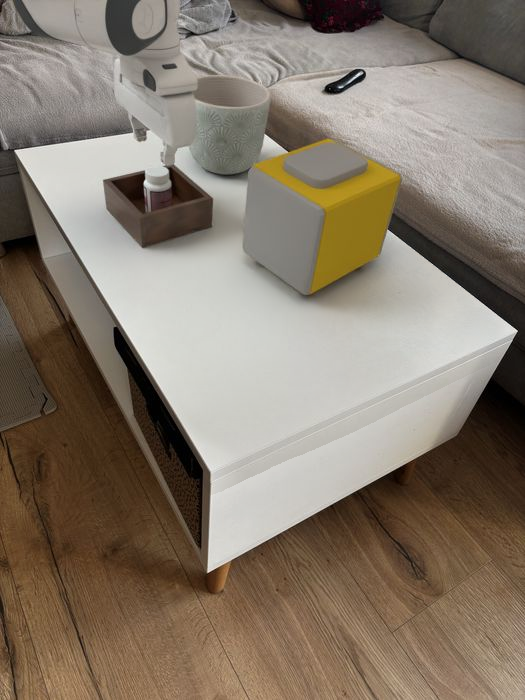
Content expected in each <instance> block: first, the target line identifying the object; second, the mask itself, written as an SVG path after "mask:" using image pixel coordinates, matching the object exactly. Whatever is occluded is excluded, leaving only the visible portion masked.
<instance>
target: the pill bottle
mask: <svg viewBox="0 0 525 700" xmlns="http://www.w3.org/2000/svg"><path fill="white" fill-rule="evenodd" d="M163 166H164V165H150V166H148V167H146V168H145V169H144V170H145V178H146V180H145V181H144V195H145V209H146V213H148V212H151V211H155V210H159V209H162V208H166V207H170V206H172V186H171V181H170V180H169V170H168V169H167V168H166V167H163Z"/></svg>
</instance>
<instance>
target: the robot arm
mask: <svg viewBox="0 0 525 700" xmlns="http://www.w3.org/2000/svg"><path fill="white" fill-rule="evenodd" d="M11 1H12V3H13V5H14V7H15V9H16V12H17V13H18V15H19V17H20V19H21V20H22V22H23V23H24V25H25V26H26V28H28V30H29V31H30V32H32V34H34V35H36V36H37V37H40V38H43V39H47V40H52V41H59V42H67V43H70V44H74V45H76V46H77V45H78V46H81V47H85V48H88V49H92V50H94V51H95V50H97V51H101V52H104V53H108V54H112V55H116V56H117V58H116V59H114V61H113V62H114V63H113V94H114V98H115V101H116V102H117V104H118V105H119V106H120V107H122V108H123V109H124V110H125V111H127V114H128V115H127V116H128V120H129V122H130V125H131V128H132V136H133V139H135V140H136V141H137V142H139V143H141V142H146V141H147V139H148V137H147V133H148V132H147V129H148V130H150V131H151V132H152V133H153V134H154V135H155V136H157V137H158V138H159V139H160V140H162V146H164V148H163V151H160V153H159V154H160V162H161V163H162V164H163V165H164V166H165V165H166V166H170V165H173V164H174V165H175V162H176V153H177V151H178V150H179V149H181V148H185V147H188V146H190V145H191V144H192V143H193V141H194V139H195V129H196V102H195V98H194V95H193V93H192V92H191V91H195V90H197V87H198V79H197V77H198V76H197V74H196V72H195V71H194V70H193V69H192V68H191V66H190V64H189V63H188V62H187V60H186V57H185V55H184V53H183V52H182V51H181V37H180V32H179V27H178V19H179V15H180V10H181V0H11ZM145 128H147V129H145Z"/></svg>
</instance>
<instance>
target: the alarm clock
mask: <svg viewBox="0 0 525 700" xmlns="http://www.w3.org/2000/svg"><path fill="white" fill-rule="evenodd" d="M247 172H248V173H247V186H246V196H245V197H246V199H245V209H244V210H245V211H244V223H243V237H242V250H243V252H244V253H245V254H246V255H248V256H249V257H250V258H252V259H253V260H255V262H257V263H259V264H260V265H261V266H263V267H264V268H265V269H267V270H268V271H269V272H271V273H272V274H274V275H275V276H276V277H278V278H279V279H281V280H282V281H284V282H285V283H286V284H288V286H290V287H291V288H293V289H295V290H296V291H297V292H299V293H300V294H302V295H305V296H307V295H309V296H310V295H312V294H314V293H316V292H317V291H319V290H320V289H323V288H324V287H326V286H328V285H329V284H331V283H334V282H335V281H337V280H339V279H340V278H342V277H344V276H347V275H348V274H350V273H352V272H353V271H355V270H356V269H358V268H360V267H362V266H364V265H366V264H368V263H369V262H371V261H373V260H374V259H377V258H378V257H379V256H380V255H381V253H382V250H383V246H384V244H385V239H386V237H387V233H388V229H389V226H390V222H391V219H392V215H393V213H394V209H395V206H396V203H397V199H398V195H399V192H400V190H401V189H400V188H401V186H402V183H403V177H402V174H401V173H400V172H399V171H397V170H394V169H392V168H391V167H389V166H386V165H385V164H382V163H381V162H380V161H377V160H375V159H373V158H371V157H369V156H367V155H365V154H363V153H361V151H358V150H356V149H354V148H352V147H351V146H348V145H346V144H345V143H342V142H340V141H338V140H336V139H334V138H329V137H328V138H326V139H322V140H320V141H316V142H314V143H311V144H308V145H306V146H303V147H300V148H297V149H293V150H291V151H289V152H286V153H283V154H279V155H277V156H274V157H270V158H267V159H265V160H262V161H259V162H257V163H256V162H255V163H254V164H253V165H252V166H251V167H250V168H249V169H248V171H247Z"/></svg>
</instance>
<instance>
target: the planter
mask: <svg viewBox="0 0 525 700" xmlns="http://www.w3.org/2000/svg"><path fill="white" fill-rule="evenodd" d="M197 79H198V87H197V90H195V91H191V92H192V93H193V95H194V98H195V102H196V129H195V139H194V141H193V143H192V144H191V145H190V146H187V147H188V150H189V152H190V154H191V157H192V159H193V160H194V161H195V162H196V163H197V165H198V166H200V167H201V168H203V169H204V170H206V171H208V172H210V173H213V174H218V175H236V174H240V173H243V172H245V171H247V170H250V168H252V165H253V164H256V162H257V161H258V159H259V157H260V155H261V154H262V153H261V152H262V149H263V146H264V141H265V140H264V139H265V135H266V128H267V123H268V116H269V110H270V105H271V99H272V95H271V94H272V93H271V91H270V90H269V89H268V88H267V87H266V86H265V85H263V84H262V83H260V82H258V81H255V80H253V79H250V78H247V77H242V76H237V75H227V74H209V75H202V76H197Z"/></svg>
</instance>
